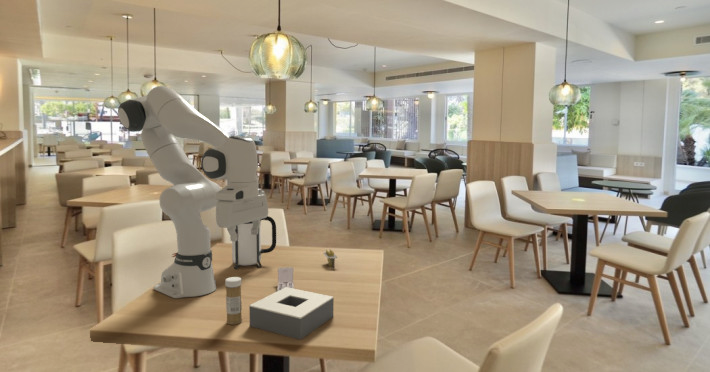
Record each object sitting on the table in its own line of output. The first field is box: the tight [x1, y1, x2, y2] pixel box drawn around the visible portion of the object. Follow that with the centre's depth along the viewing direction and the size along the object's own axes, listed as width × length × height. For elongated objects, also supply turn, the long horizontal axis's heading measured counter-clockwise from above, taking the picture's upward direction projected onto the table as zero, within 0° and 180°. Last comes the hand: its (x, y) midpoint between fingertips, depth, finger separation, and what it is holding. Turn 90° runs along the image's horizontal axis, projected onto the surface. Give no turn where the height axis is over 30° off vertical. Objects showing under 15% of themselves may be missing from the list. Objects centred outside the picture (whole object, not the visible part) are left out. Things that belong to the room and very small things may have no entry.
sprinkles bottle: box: [224, 276, 243, 326], centre depth 134 cm, size 5×5×14 cm
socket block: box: [248, 287, 335, 340], centre depth 135 cm, size 18×18×6 cm
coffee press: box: [231, 216, 277, 270], centre depth 191 cm, size 17×16×30 cm
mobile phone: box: [276, 266, 295, 292], centre depth 159 cm, size 6×6×25 cm
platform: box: [323, 248, 338, 268], centre depth 194 cm, size 12×18×7 cm, turn 20°
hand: (244, 237), depth 133 cm, fingers open, 8 cm apart
